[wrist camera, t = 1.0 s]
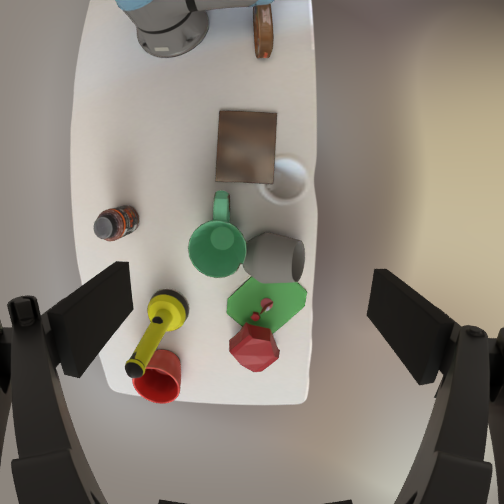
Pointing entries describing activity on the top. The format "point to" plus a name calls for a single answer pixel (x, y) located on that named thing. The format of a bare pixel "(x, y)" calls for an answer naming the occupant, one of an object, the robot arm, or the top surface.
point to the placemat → (246, 147)
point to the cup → (274, 258)
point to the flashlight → (158, 327)
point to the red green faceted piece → (261, 319)
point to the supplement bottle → (116, 223)
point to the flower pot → (160, 378)
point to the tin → (263, 30)
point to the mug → (218, 242)
